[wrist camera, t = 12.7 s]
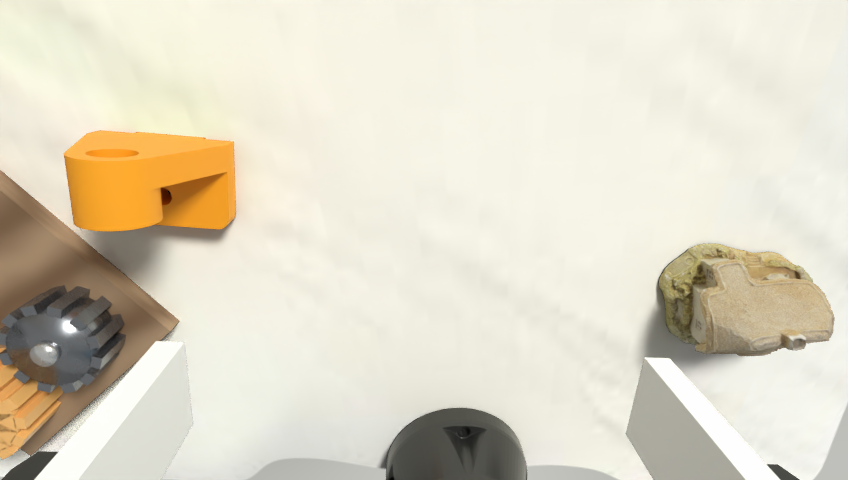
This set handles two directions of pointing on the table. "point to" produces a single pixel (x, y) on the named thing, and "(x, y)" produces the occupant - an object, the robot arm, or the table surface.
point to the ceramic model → (743, 302)
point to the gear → (61, 339)
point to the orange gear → (22, 409)
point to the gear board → (71, 266)
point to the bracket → (150, 181)
